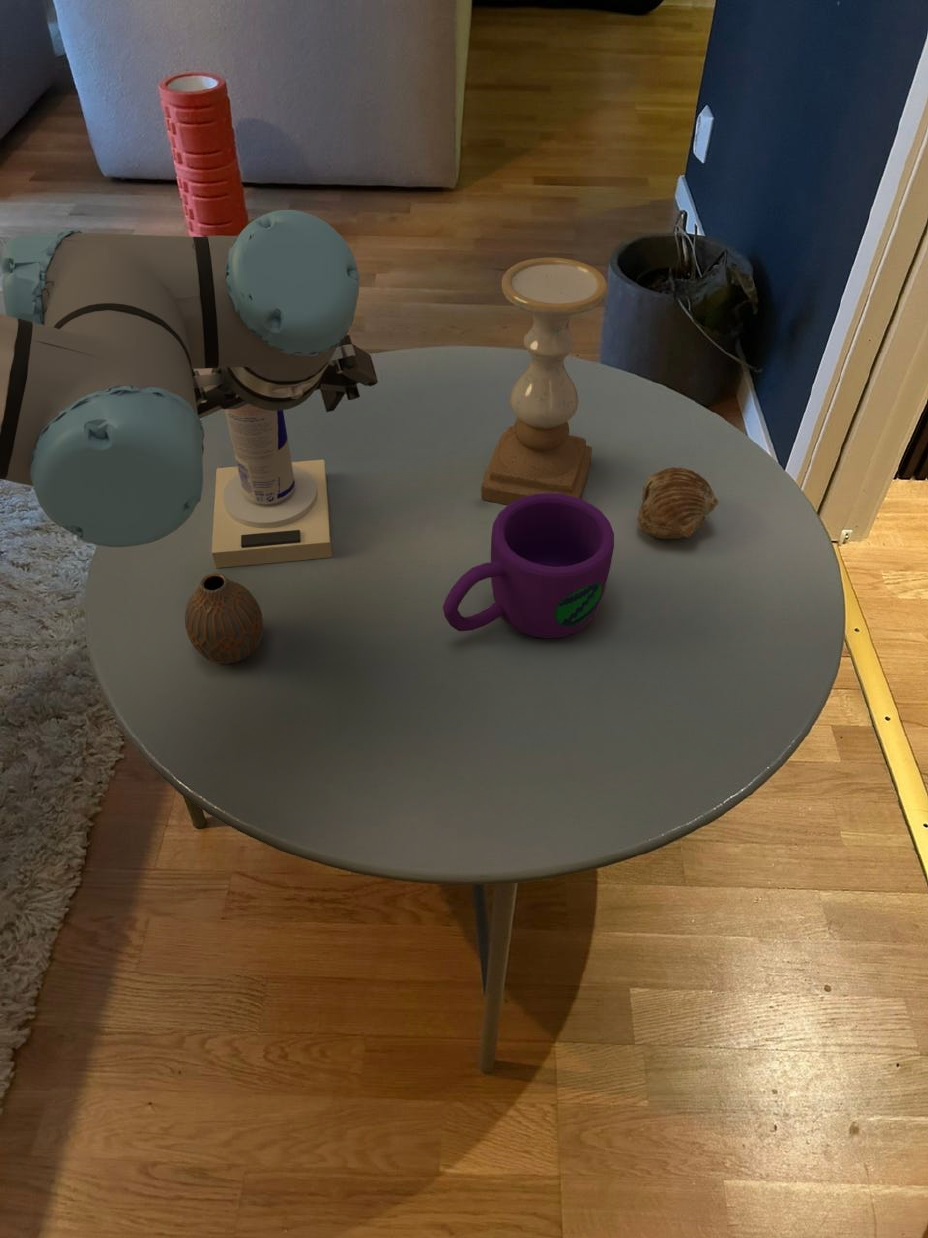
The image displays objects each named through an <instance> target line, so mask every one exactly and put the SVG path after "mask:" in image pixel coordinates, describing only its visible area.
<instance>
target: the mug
mask: <svg viewBox="0 0 928 1238" xmlns="http://www.w3.org/2000/svg"><path fill="white" fill-rule="evenodd" d="M490 537H491V539H490V541H491V542H490V561H489V562H484V563H480V564H479V565H476V566H473V567H471V568H470V569H469V570H467V571H466V572H465V573H463V574H462V575H461V576H460V577H459V579H458V580H457V581H456V583H455V584H454V585H453V586H452V587H451V589H450V590H449V592H448V594H447V596H446V597H445V599H444V602H443V604H442V610H443V615H444V618H445V620H446V622H447V623H448V624H449V626H450V627H452V628H453V629H455V630H457V631H459V632H471V631H474V630H478V629H481V628H483V627H485V626H487V625H489V624H491V623H493V622H495V621H497V619H499V618H501V617H502V619H503V620H504V621H505V622H506V623H507V624H508V625H510V626H511V627H512V628H513V629H515V630H517V631H519V632H521V633H523V634H525V635H529V636H532V637H536V638H542V639H543V638H544V639H554V638H563V637H566V636H569V635H571V634H575V633H576V632H578V631H579V630H582V629H583V628H585V626H587V625H588V623H589V622H591V620H592V619H593V618H594V617H595V616H596V613H597V611H598V609H599V606H600V604H601V601H602V598H603V596H604V595H605V594H604V593H605V591H606V587H607V583H608V578H609V575H610V570H611V565H612V560H613V554H614V548H615V532H614V530H613V527H612V525H611V522H610V520H609V519H608V518H607V517H606V515H605V514H604V512H603V511H601V510H600V509H599V508H597V507H596V506H594V505H593V504H592V503H590V502H588V501H585V500H584V499H582V498H581V499H579V498H576V497H572V496H568V495H564V494H555V493H543V494H533V495H530V496H526V497H523V498H520V499H518V500H516V501H514V502H512V503H510V504H509V505H507V504H506V506H505V507H504V508H503V509H502V510H501V511H500V512H499V513H498V514H497V516H496V518H495V520H494V521H493V523H492V528H491V535H490ZM486 579H490V581H491V582H490V583H491V589H492V595H493V599H494V602H493V603H492V604H490V606H489V607H487V608H485V609H483V610H482V611H480V612H478V613H475V614H472V615H469V616H463V615H462V614H461V613H460V611H459V610H458V609H459V606H460V604H461V603H462V601H463V600H464V598H465V596H466V595H467V594H468V593H469V592H470V590H471V589H472V588H473V587H474V586H475V585H476V584H478V583H479V582H480V581H483V580H486Z"/></svg>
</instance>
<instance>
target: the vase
mask: <svg viewBox="0 0 928 1238" xmlns="http://www.w3.org/2000/svg"><path fill="white" fill-rule="evenodd" d="M184 615H185V616H184V625H185V630H186V633H187V636H188V639H189V641H190V644H192V646H193V648H194V649H195V650H196V651H197V652H198V653H199V655H201V656H202V657H203V658H205V659H207V660H209V661H211V662H213V663H217V664H233V663H237V662H240V661H242V660H244V659H246V658H248V657H249V656H251V655H252V653H254V651H255V650H256V649H257V648H258V646H259V644H260V642H261V640H262V636H263V633H264V617H263V613H262V610H261V607H260V605H259V602H258V601H257V599H256V597H255V595H253V594H252V592H251V591H250V590H249V589H247V588H246V587H245V586H244V585H243V584H241V583H239V582H236V581H233V580H231V579H229V578H228V577H227V576H226V575H224V574H223V573H219V572H218V573H217V572H213V573H210V574H206V575H205V576H203V578H201V580H200V582H199V585H198V587H197V588H196V590H194V592H193V593H192V595H191V596H190V598H189V600H188V601H187V604H186V608H185V613H184Z"/></svg>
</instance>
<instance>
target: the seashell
mask: <svg viewBox="0 0 928 1238" xmlns="http://www.w3.org/2000/svg"><path fill="white" fill-rule="evenodd" d="M641 500H642V504H641V507H640V509H639V510H638V512H639V513H638V516H637V523H638V527H639V528H640V530H641V531H642V533H643V534H645V535H647V536H649V537H652V538H658V539H662V540H673V539H674V540H675V539H681V538H690V537H691V536H692V534H693V533H695V532H696V531H697V530H699V528H701V526H702V525H703V523H704V522H705V519H706V516H708V515H709V514H710V513H712V512H713V511H714V510H715V508H716V507H717V506H718V505H719V500H718V498H717V497H716V495H715V493H714V491H713V489H712V487H711V485H710V483H708V481H707V480H706V479H705V478H704V477H702V476H701V475H700V474H699V473H697V472H695V471H694V470H691V469H687V468H685V467H674V466H673V467H668V468H665V469H662V470H659V471H657V472H656V473H655V472H654V473H653V474H651V475H650V476H649V478H648V479H647V481H646V482H645V483H644V484H643V486H642V495H641Z"/></svg>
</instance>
